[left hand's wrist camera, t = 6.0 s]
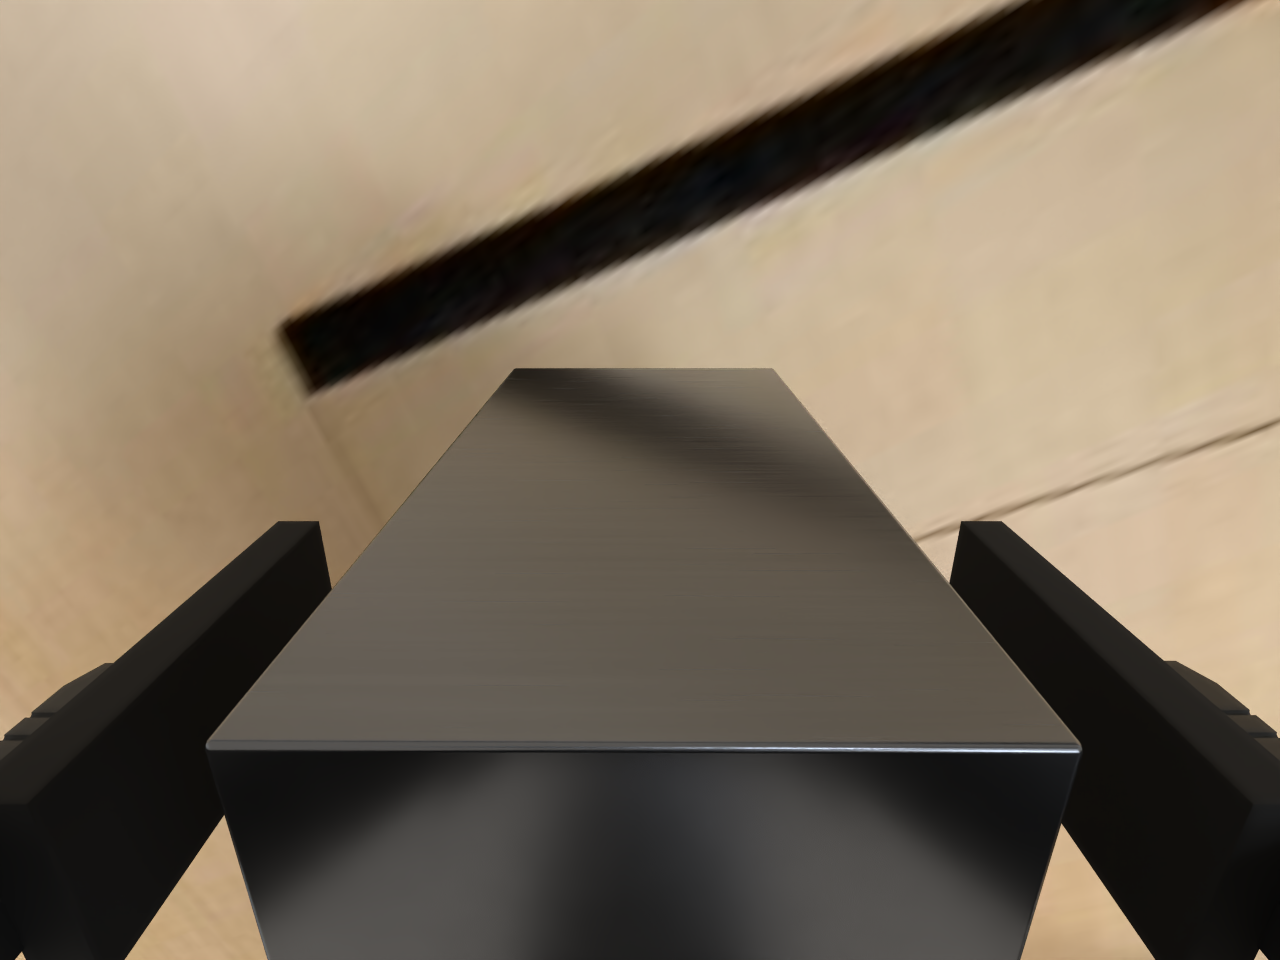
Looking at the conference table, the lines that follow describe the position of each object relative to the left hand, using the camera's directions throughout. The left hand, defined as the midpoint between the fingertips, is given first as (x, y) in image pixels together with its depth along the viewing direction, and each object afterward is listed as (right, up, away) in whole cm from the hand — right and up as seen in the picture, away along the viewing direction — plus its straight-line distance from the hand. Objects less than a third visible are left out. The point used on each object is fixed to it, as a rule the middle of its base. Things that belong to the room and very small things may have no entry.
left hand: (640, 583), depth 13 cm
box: (0, -5, +7) cm, 8 cm away
